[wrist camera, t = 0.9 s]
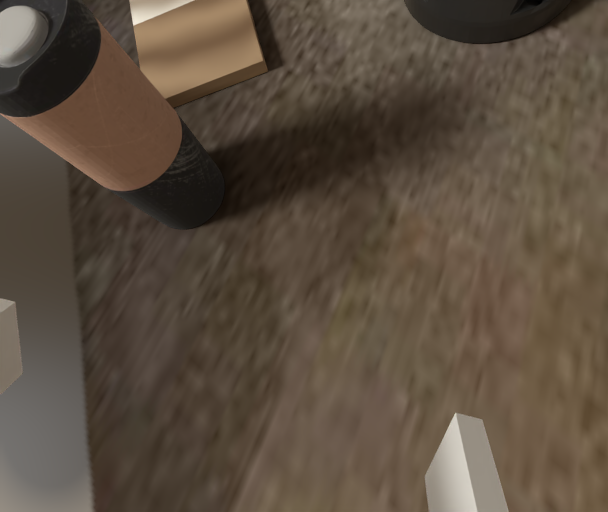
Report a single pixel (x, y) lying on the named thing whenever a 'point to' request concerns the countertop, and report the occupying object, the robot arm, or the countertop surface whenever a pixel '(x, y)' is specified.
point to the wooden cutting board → (196, 46)
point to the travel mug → (102, 111)
